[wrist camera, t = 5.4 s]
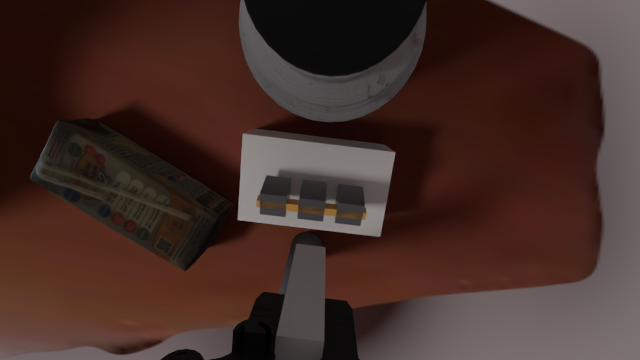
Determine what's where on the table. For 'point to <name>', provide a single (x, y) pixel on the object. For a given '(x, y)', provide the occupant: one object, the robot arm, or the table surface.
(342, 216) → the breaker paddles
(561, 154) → the table surface
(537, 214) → the table surface
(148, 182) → the beverage carton
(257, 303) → the robot arm
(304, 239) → the post
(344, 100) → the thermos bottle
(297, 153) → the breaker box
